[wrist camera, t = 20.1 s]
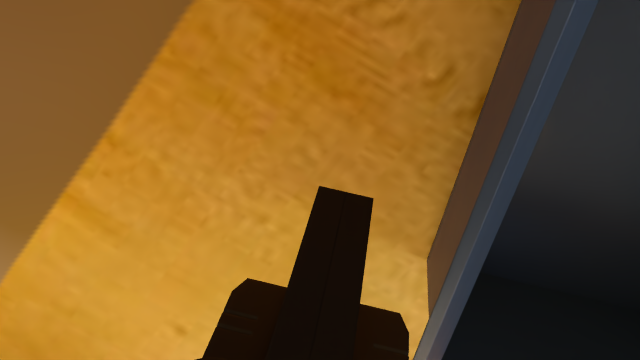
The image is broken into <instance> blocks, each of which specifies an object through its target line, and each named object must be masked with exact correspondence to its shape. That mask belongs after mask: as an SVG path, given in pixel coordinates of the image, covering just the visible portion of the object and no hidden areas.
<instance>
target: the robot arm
mask: <svg viewBox="0 0 640 360" xmlns="http://www.w3.org/2000/svg"><path fill="white" fill-rule="evenodd" d="M372 205H373V198H369V197H365V196H361V195H356V194H352V193H348V192H343V191H339V190H335V189H330V188H326V187H322V186H319V188H318V192H317V195H316V198H315V201H314V204H313V207H312V211H311V214H310V217H309V220H308V223H307V227H306V230H305V233H304V236H303V239H302V242H301V246H300V249H299V252H298V255H297V258H296V262H295V265H294V268H293V271H292V274H291V277H290V281H289V284H288V287H282V286H278V285H274V284H270V283H266V282H262V281H257V280H253V279H249V278H247V279H246V280H245V281H244V282H243V283H241V284H240V285H239V286H238V287H237V288H235V289H234V290H233V291H232V293H231V295H230V297H229V299H228V302H227V304H226V306H225V308H224V312H223V313H222V315H221V317H220V319H219V322H218V324H217V327H216V328H215V331H214V333H213V335H212V337H211V340H210V342H209V344H208V346H207V348H206V351H205V353H204V355H203V357H202V358H200V359H196V360H409V356H408V353H409V332H408V330H407V328H406V325H405V323H404V321H403V319H402V317H401V315H400V313H396V312H392V311H388V310H384V309H380V308H376V307H371V306H367V305H363V304H360V299H361V291H362V283H363V275H364V268H365V260H366V252H367V244H368V237H369V229H370V221H371V213H372Z"/></svg>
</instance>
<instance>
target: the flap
mask: <svg viewBox="0 0 640 360" xmlns="http://www.w3.org/2000/svg"><path fill="white" fill-rule="evenodd" d="M598 1H599V0H555V2H554V5H553V7H552V10H551V12H550V15H549V17H548V20H547V22H546V25H545V27H544V30H543V32H542V35H541V38H540V40H539V43H538V45H537V48H536V50H535V53H534V55H533V58H532V60H531V63H530V65H529V68H528V70H527V73H526V75H525V78H524V80H523V83H522V85H521V88H520V91H519V93H518V96H517V98H516V101H515V103H514V106H513V108H512V111H511V113H510V116H509V118H508V121H507V123H506V126H505V128H504V131H503V133H502V136H501V139H500V141H499V144H498V146H497V149H496V151H495V154H494V156H493V159H492V161H491V164H490V166H489V169H488V171H487V174H486V176H485V179H484V181H483V184H482V187H481V189H480V192H479V194H478V197H477V199H476V202H475V204H474V207H473V209H472V212H471V214H470V217H469V219H468V222H467V224H466V227H465V229H464V232H463V235H462V237H461V240H460V242H459V245H458V247H457V250H456V252H455V255H454V257H453V260H452V262H451V265H450V267H449V270H448V272H447V275H446V277H445V280H444V283H443V285H442V288H441V290H440V293H439V295H438V298H437V300H436V303H435V305H434V308H433V310H432V313H431V315H430V318H429V320H428V323H427V325H426V328H425V330H424V333H423V336H422V338H421V341H420V343H419V346H418V348H417V351H416V353H415V356H414V358H413V360H442V357H443V355H444V353H445V350H446V348H447V346H448V344H449V341H450V339H451V337H452V334H453V332H454V330H455V328H456V325H457V323H458V321H459V318H460V316H461V314H462V312H463V309H464V307H465V305H466V302H467V300H468V298H469V296H470V293H471V291H472V289H473V286H474V284H475V282H476V280H477V277H478V275H479V273H480V270H481V268H482V266H483V264H484V261H485V259H486V257H487V254H488V252H489V250H490V248H491V245H492V243H493V241H494V238H495V236H496V234H497V232H498V229H499V227H500V225H501V223H502V220H503V218H504V216H505V213H506V211H507V209H508V207H509V204H510V202H511V200H512V197H513V195H514V193H515V191H516V188H517V186H518V184H519V181H520V179H521V177H522V175H523V172H524V170H525V168H526V165H527V163H528V161H529V159H530V156H531V154H532V152H533V149H534V147H535V145H536V143H537V140H538V138H539V136H540V133H541V131H542V129H543V127H544V124H545V122H546V120H547V117H548V115H549V113H550V111H551V108H552V106H553V104H554V101H555V99H556V97H557V95H558V92H559V90H560V88H561V86H562V83H563V81H564V79H565V76H566V74H567V72H568V70H569V67H570V65H571V63H572V60H573V58H574V56H575V54H576V51H577V49H578V47H579V44H580V42H581V40H582V38H583V35H584V33H585V31H586V28H587V26H588V24H589V22H590V19H591V17H592V15H593V12H594V10H595V8H596V6H597V3H598Z"/></svg>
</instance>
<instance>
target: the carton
mask: <svg viewBox="0 0 640 360" xmlns="http://www.w3.org/2000/svg"><path fill="white" fill-rule="evenodd" d="M554 2H555V0H521V3H520V6H519V8H518V11H517V14H516V17H515V19H514V22H513V25H512V28H511V30H510V33H509V36H508V39H507V41H506V44H505V47H504V50H503V52H502V55H501V58H500V61H499V63H498V66H497V69H496V72H495V75H494V77H493V80H492V83H491V86H490V88H489V91H488V94H487V97H486V99H485V102H484V105H483V108H482V110H481V113H480V116H479V119H478V121H477V124H476V127H475V130H474V132H473V135H472V138H471V141H470V143H469V146H468V149H467V152H466V154H465V157H464V160H463V163H462V165H461V168H460V171H459V174H458V176H457V179H456V182H455V185H454V187H453V190H452V193H451V196H450V198H449V201H448V204H447V207H446V209H445V212H444V215H443V218H442V220H441V223H440V226H439V229H438V231H437V234H436V237H435V240H434V242H433V245H432V248H431V251H430V253H429V256H428V259H427V278H428V306H429V318H430V315H431V313H432V310H433V308H434V305H435V303H436V300H437V298H438V295H439V293H440V290H441V288H442V285H443V283H444V280H445V277H446V275H447V272H448V270H449V267H450V265H451V262H452V260H453V257H454V255H455V252H456V250H457V247H458V245H459V242H460V240H461V237H462V235H463V232H464V229H465V227H466V224H467V222H468V219H469V217H470V214H471V212H472V209H473V207H474V204H475V202H476V199H477V197H478V194H479V192H480V189H481V187H482V184H483V181H484V179H485V176H486V174H487V171H488V169H489V166H490V164H491V161H492V159H493V156H494V154H495V151H496V149H497V146H498V144H499V141H500V139H501V136H502V133H503V131H504V128H505V126H506V123H507V121H508V118H509V116H510V113H511V111H512V108H513V106H514V103H515V101H516V98H517V96H518V93H519V91H520V88H521V85H522V83H523V80H524V78H525V75H526V73H527V70H528V68H529V65H530V63H531V60H532V58H533V55H534V53H535V50H536V48H537V45H538V43H539V40H540V38H541V35H542V32H543V30H544V27H545V25H546V22H547V20H548V17H549V15H550V12H551V10H552V7H553V5H554ZM442 360H640V0H599V1H598V3H597V6H596V8H595V10H594V12H593V15H592V17H591V19H590V22H589V24H588V26H587V28H586V31H585V33H584V35H583V38H582V40H581V42H580V44H579V47H578V49H577V51H576V54H575V56H574V58H573V60H572V63H571V65H570V67H569V70H568V72H567V74H566V76H565V79H564V81H563V83H562V86H561V88H560V90H559V92H558V95H557V97H556V99H555V101H554V104H553V106H552V108H551V111H550V113H549V115H548V117H547V120H546V122H545V124H544V127H543V129H542V131H541V133H540V136H539V138H538V140H537V143H536V145H535V147H534V149H533V152H532V154H531V156H530V159H529V161H528V163H527V165H526V168H525V170H524V172H523V175H522V177H521V179H520V181H519V184H518V186H517V188H516V191H515V193H514V195H513V197H512V200H511V202H510V204H509V207H508V209H507V211H506V213H505V216H504V218H503V220H502V223H501V225H500V227H499V229H498V232H497V234H496V236H495V238H494V241H493V243H492V245H491V248H490V250H489V252H488V254H487V257H486V259H485V261H484V264H483V266H482V268H481V270H480V273H479V275H478V277H477V280H476V282H475V284H474V286H473V289H472V291H471V293H470V296H469V298H468V300H467V302H466V305H465V307H464V309H463V312H462V314H461V316H460V318H459V321H458V323H457V325H456V328H455V330H454V332H453V334H452V337H451V339H450V341H449V344H448V346H447V348H446V350H445V353H444V355H443V357H442Z"/></svg>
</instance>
